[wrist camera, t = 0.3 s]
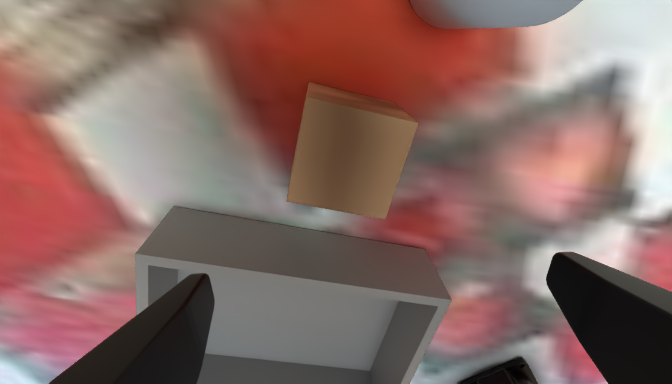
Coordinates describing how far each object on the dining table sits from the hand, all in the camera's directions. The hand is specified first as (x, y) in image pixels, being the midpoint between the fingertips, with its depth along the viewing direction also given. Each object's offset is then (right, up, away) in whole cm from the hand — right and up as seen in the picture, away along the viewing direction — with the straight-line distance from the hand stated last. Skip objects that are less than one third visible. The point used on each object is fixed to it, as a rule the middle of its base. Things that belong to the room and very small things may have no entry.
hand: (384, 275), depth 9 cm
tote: (-5, -6, +16) cm, 18 cm away
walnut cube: (-1, +6, +11) cm, 12 cm away
